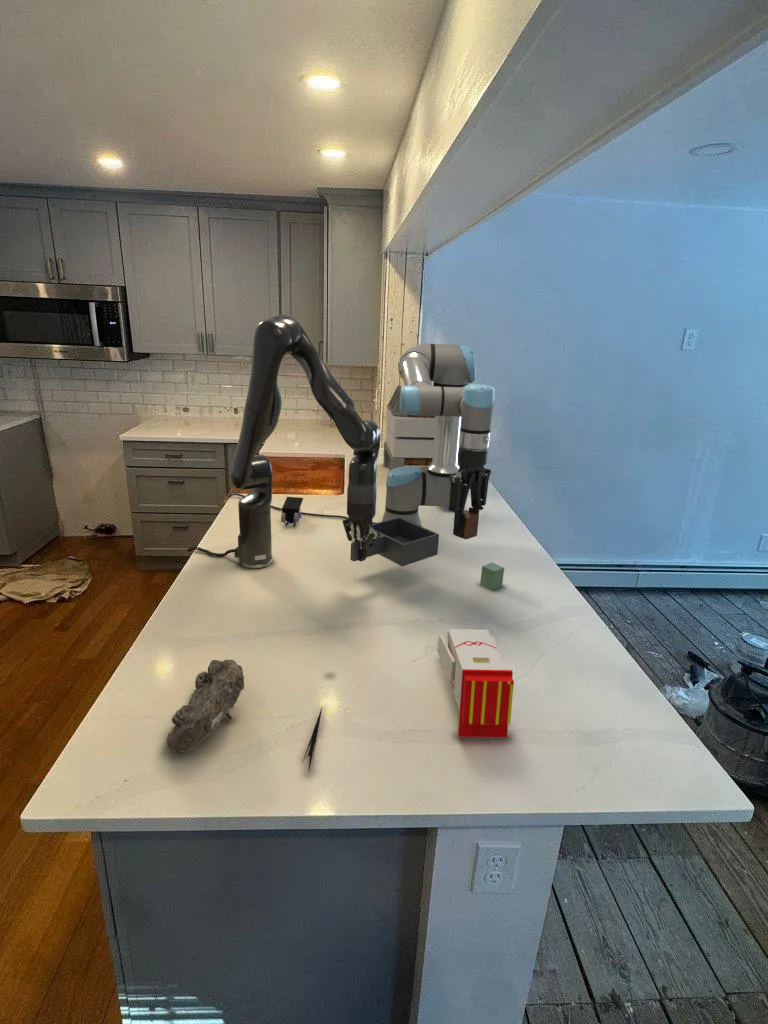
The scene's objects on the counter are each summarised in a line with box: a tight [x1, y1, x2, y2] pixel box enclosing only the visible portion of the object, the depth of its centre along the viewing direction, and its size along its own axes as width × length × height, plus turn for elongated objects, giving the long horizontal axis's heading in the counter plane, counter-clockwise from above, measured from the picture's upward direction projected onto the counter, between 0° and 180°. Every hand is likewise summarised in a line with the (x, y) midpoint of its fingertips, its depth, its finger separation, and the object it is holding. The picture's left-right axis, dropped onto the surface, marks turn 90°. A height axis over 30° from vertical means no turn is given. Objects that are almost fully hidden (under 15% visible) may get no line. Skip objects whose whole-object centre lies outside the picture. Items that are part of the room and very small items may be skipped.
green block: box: [479, 561, 505, 591], centre depth 164 cm, size 4×4×6 cm
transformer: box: [383, 384, 460, 472], centre depth 268 cm, size 34×33×41 cm
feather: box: [301, 673, 332, 771], centre depth 108 cm, size 2×28×2 cm
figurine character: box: [280, 496, 304, 528], centre depth 205 cm, size 7×8×15 cm
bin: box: [350, 517, 440, 567], centre depth 158 cm, size 17×24×6 cm
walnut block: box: [452, 509, 480, 540], centre depth 149 cm, size 4×4×6 cm
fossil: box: [166, 658, 245, 754], centre depth 106 cm, size 22×10×15 cm
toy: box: [437, 628, 515, 738], centre depth 117 cm, size 12×13×30 cm
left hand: (359, 558), depth 152 cm, fingers closed on bin, 1 cm apart
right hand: (464, 533), depth 150 cm, fingers closed on walnut block, 4 cm apart
